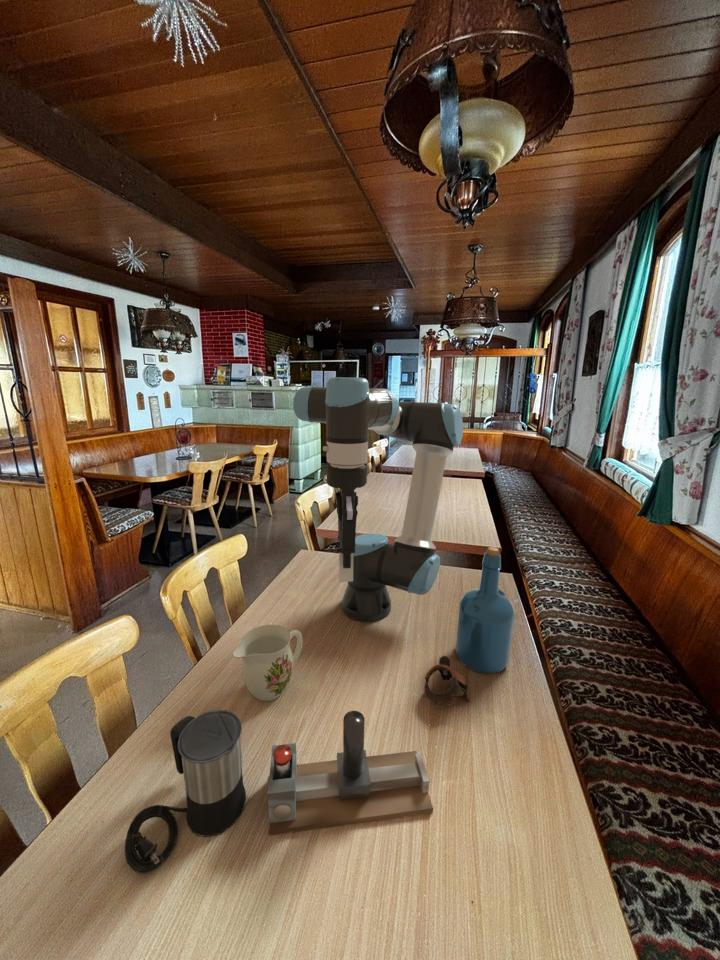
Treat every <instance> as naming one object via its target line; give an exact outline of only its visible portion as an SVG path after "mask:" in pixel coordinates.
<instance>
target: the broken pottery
mask: <svg viewBox="0 0 720 960" xmlns="http://www.w3.org/2000/svg"><path fill="white" fill-rule="evenodd" d="M438 663H439V664H436V665H433V666H432V667H431V668H430V669H428V671H427V672H426V674H425V675H424V680H425V682H424V685H423V686H424V688H423V690H424V695H425V698H426V699H427V700H428V701H430V703H432V704H434V705H438V706H439V705H440V706H442V705H450V706H454V700H453V696H455V697H459V696H460V697H462V696H463V695H464V691H465V693H466V701H467V702H468V703H470V690H469V686H468V683H467V680H466V678H465V677H464V676H463V675H462V673H461V672H459V670H457V669H456V668H454V667H452V666H451V662H450V658H449V657H448V656H447V655H443V656H440V657H439V661H438ZM437 671H438V673H439V675H440V677H441V680H442V681H450V680H451V679H452V683H451V686H450V687H449V689H447V690H446V691H444V692H441V693H438V692H434V691H433V690H432V689H431V688H430V686H429V682H430V681H429V680H430V678H431V677H432V675H433V674H435V672H437Z"/></svg>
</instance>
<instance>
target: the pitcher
mask: <svg viewBox="0 0 720 960" xmlns="http://www.w3.org/2000/svg"><path fill="white" fill-rule="evenodd" d="M294 637H296V647H295V649H294V651H293V652H292V649H291V646H290V644H291V643H290V642H291V639H292V638H294ZM302 648H303V635H302V632H301V631H299V630H298V629H292V630H291V631H289V630H288V629H287V628H286V627H285V626H281V625H279V624H278V625H277V624H264V625H260V626H257V627H254V628H252V629H251V630H249V631H248V632H247V633H245V634H244V636H243V637H242V639H241V642H240V644H239V646H237V648H235V649H234V651H233V653H232V656H233V658H236V659H242V660H241V673H242V677H243V681H244V684H245V687H246V688H247V689H248V691H249V693H250V694H251V695H252V696H253V697H254V698H256V699H257V700H259V701H261V702H269V701H270V702H271V701H273V700H276V699H278V698H279V697H281V695H282V694H283V693H284V692H285V690H286V689H287V687H288V686H289V683H290V681H291V677H292V674H293V667H294V664H295V662H296V661H297V659H298V658H299V656H300V654H301V652H302Z"/></svg>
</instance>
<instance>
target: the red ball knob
mask: <svg viewBox="0 0 720 960" xmlns="http://www.w3.org/2000/svg"><path fill="white" fill-rule="evenodd" d="M279 745H280V746H278V747H277V748H276V749H275V750H274V752H273V759H274V763H275V764H276V779H277V780H278V779H287V778H290V760H291V749H290V747H289V746H288V745H282V744H279Z"/></svg>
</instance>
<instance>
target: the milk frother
mask: <svg viewBox="0 0 720 960" xmlns="http://www.w3.org/2000/svg"><path fill="white" fill-rule="evenodd" d="M242 730H243V727H242V722H241V719H240V718H239V717H238V715H236V714H235V713H234V712H231V711H229V710H225V709H224V710H223V709H215V710H210V711H209V710H208V711H206V712H203V713H201V714H199V715H198V716H196V717H195V716H192V715H187V716H184V717H183V718H182V719H180V720H179V721H178V722H177V723H175V724H174V725H173V726H172V728H171V729H170V740H171V746H172V750H173V756H174V763H175V766H176V768H175V769H176V770H177V772H178V774H179V775H183V778H184V785H185V786H184V787H185V795H186V798H185V799H186V807H176V806H175V807H174V806H169V805H163V804H162V805H161V804H156V805H151V806H148V807H146V808H143V810H141V811H140V812H138V813H137V814H136V816H135V817H134V818H133V819H132V821H131V823H130V824H129V828H128V829H127V833H126V836H125V837H126V838H125V844H124V857H125V860H126V864H127V865H128V867H130V869H131V870H132V871H134V872H137V873H138V874H139V873H140V874H146V873H149V872H152V871H154V870H155V869H157V868H158V867H160V866H161V865H162V864H163V863H164V862H165V861H166V860H167V859H168V857H169V856H170V855H171V853H172V851H173V850H174V848H175V845H176V842H177V839H178V835H179V834H178V831H179V828H178V827H179V826H178V821H177V819H176V817H175V815H174V813H172V811H174V812H178V813H186V814H185V817H186V818H185V820H186V823H187V826H188V828H189V829H190V830H191V831H192V832H193V833H194V834H196V835H197V836H200V837H201V836H202V837H212V836H216V835H219V834H222V833H223V832H225V831H227V830H228V829H230V828H231V827H232V826H233V825H234V824H235V823H236V822H237V821H238V819H239V818H240V816H241V815H242V813H243V811H244V808H245V805H246V800H247V793H246V789H245V788H246V787H245V785H244V778H243V763H242V762H243V761H242V760H243V759H242V758H243V757H242V756H243V755H242V739H241V735H242ZM153 818H160V819H162V820H163V821H165V823H166V825H167V828H168V838H167V842H166V845H165V847H164V849H163V850H162V852H161V853H160V854H157V853H156V850H157V847H158V843H155V844H153V843H152V841H150V840H149V839H147V836H143V835H142V834H141V832H140V829H141V827H142V826H143V824H144V823H145V822H146V821H148V820H149V819H153Z"/></svg>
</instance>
